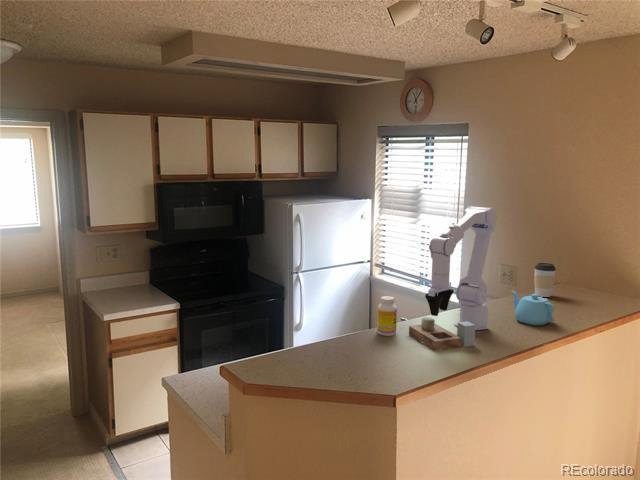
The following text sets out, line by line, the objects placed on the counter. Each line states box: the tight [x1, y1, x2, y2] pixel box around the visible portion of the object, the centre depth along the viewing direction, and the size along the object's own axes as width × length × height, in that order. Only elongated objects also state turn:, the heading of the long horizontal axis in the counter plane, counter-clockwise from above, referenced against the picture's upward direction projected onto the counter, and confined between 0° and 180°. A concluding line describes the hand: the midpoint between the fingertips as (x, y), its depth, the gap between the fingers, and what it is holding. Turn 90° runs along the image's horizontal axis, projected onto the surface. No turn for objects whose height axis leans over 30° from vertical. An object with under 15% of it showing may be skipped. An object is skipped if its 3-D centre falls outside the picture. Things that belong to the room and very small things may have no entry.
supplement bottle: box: [376, 295, 398, 337], centre depth 178 cm, size 7×7×13 cm
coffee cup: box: [533, 262, 557, 298], centre depth 231 cm, size 9×9×15 cm
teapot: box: [510, 290, 555, 326], centre depth 194 cm, size 13×11×18 cm
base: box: [408, 317, 463, 351], centre depth 172 cm, size 10×16×6 cm, turn 20°
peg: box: [456, 321, 476, 347], centre depth 169 cm, size 4×4×7 cm
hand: (438, 312), depth 171 cm, fingers open, 7 cm apart
